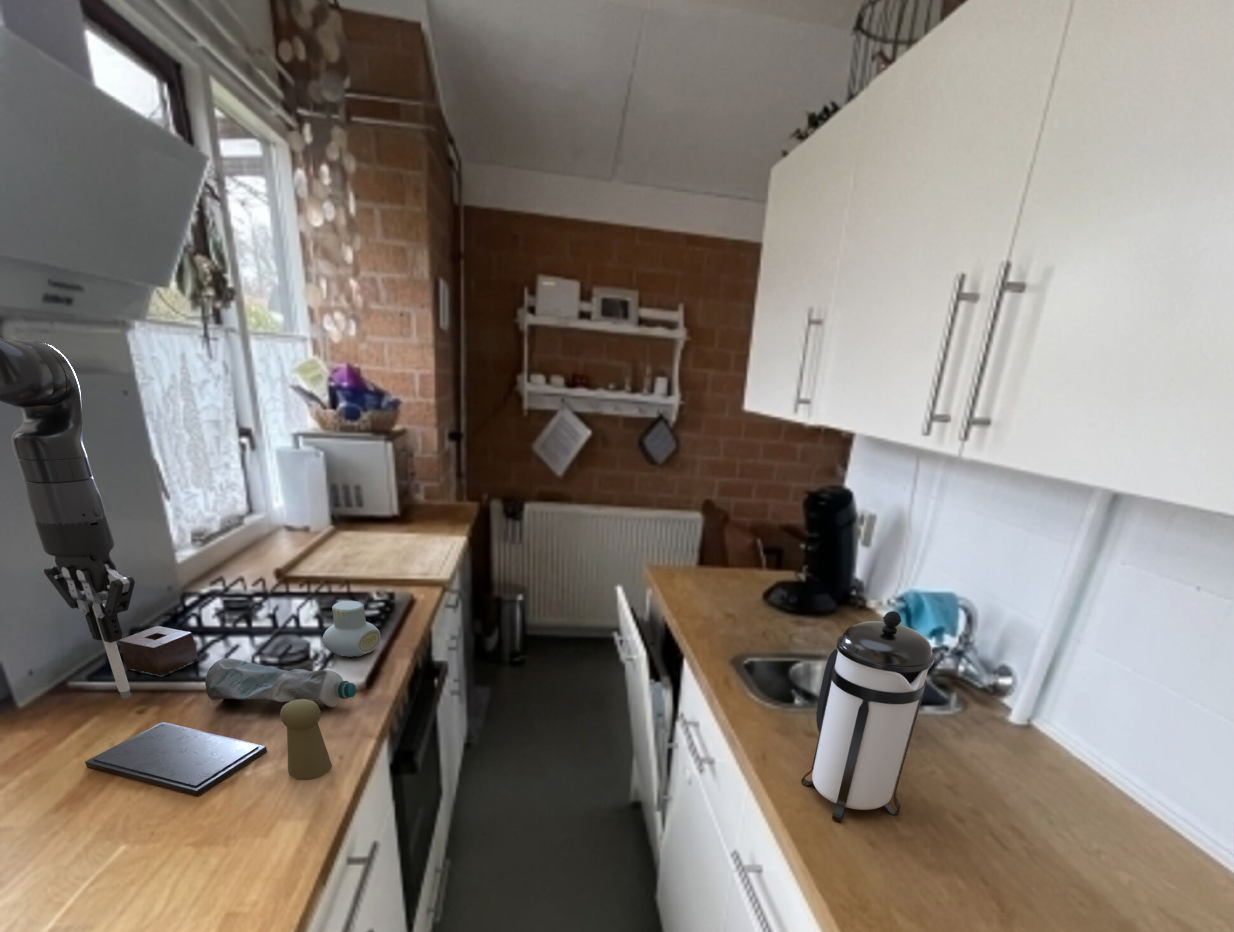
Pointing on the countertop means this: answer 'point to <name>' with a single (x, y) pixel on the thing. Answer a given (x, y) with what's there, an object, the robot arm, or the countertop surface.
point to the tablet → (177, 758)
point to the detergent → (274, 683)
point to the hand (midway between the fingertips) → (108, 639)
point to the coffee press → (868, 713)
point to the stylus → (116, 665)
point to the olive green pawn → (304, 740)
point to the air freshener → (350, 631)
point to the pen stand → (158, 650)
